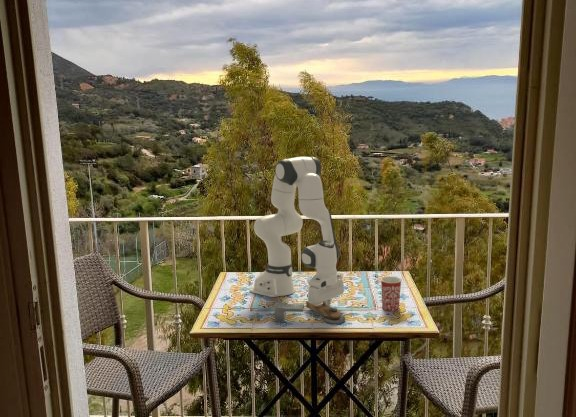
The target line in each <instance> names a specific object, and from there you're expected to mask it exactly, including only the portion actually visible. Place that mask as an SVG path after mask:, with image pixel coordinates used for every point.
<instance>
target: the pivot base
mask: <svg viewBox="0 0 576 417" xmlns="http://www.w3.org/2000/svg"><path fill="white" fill-rule="evenodd" d="M323 322H325V323H326V324H329V325H341V324H344V323H345V322H346V317H345V316H344V315H343V314H340V319H337V320H333V319H329V317H327V316H323Z"/></svg>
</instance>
